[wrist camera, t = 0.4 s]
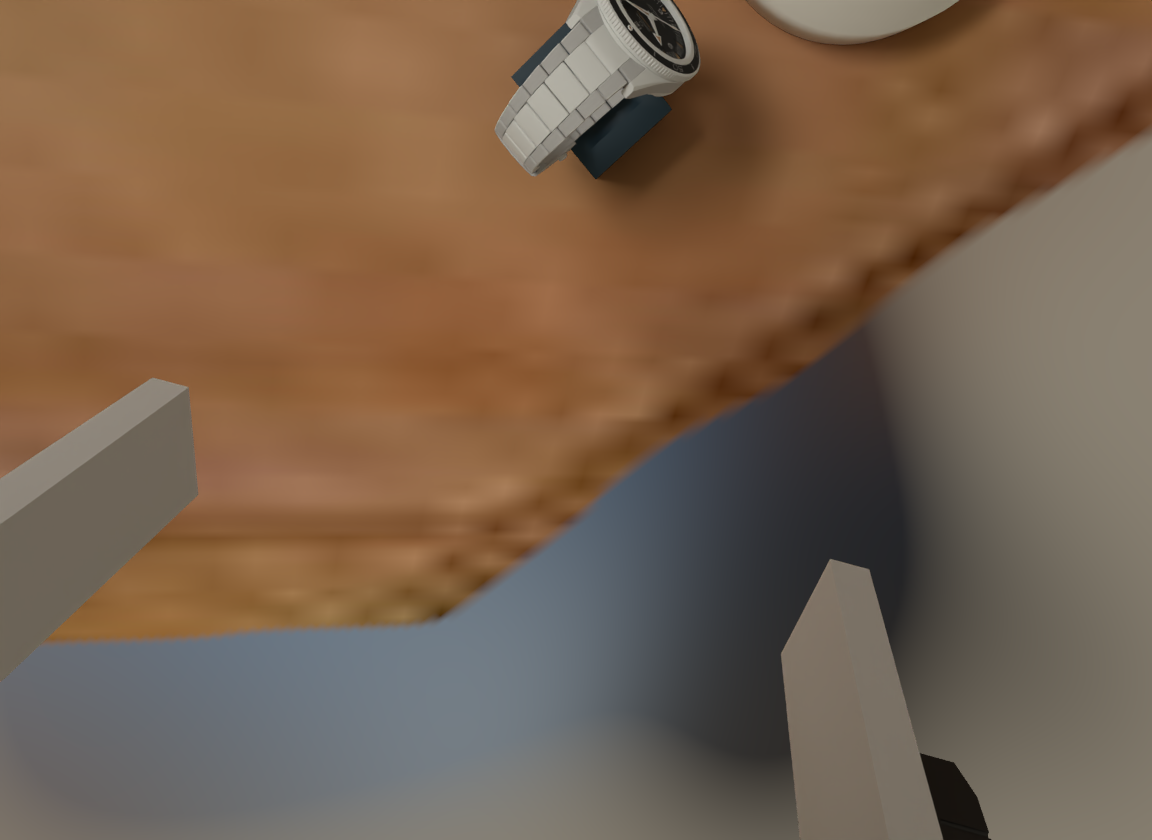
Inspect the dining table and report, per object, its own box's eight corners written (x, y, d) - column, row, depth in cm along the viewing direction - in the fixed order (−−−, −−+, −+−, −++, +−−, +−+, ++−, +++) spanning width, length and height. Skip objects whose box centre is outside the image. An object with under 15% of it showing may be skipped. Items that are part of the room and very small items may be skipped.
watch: (699, 84, 34) (740, 45, 23) (569, 203, 35) (553, 217, 25) (621, -20, 32) (626, -109, 22) (491, 110, 34) (439, 84, 24)
